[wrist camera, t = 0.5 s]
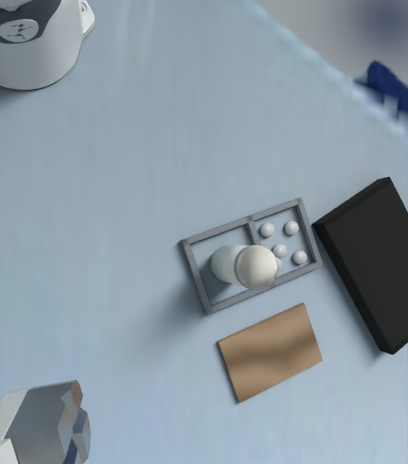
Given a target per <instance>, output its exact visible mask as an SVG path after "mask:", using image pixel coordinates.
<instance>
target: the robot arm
mask: <svg viewBox="0 0 408 464" xmlns="http://www.w3.org/2000/svg"><path fill="white" fill-rule="evenodd" d="M82 10H83V12H82ZM94 25H95V18H94V14H93V12H92V10H91V9H90V7H89V5H88V3H87V2H86V0H0V86H3V87H6V88H11V89H19V90H30V89H37V88H42V87H45V86H48V85H50V84H52V83H54V82H56V81H58V80H59V79H60V78H62V77H63V76H64V75H65V74H66V73H67V72H68V71H69V70H70V69H71V67H72V66H73V64H74V62H75V61H76V58H77V56H78V53H79V49H80V46H81V43H82V41H83V39H84V38H85V37H86V36H87V35H88V34H89V33H90V32H91V30H92V29H93V28H94ZM82 397H83V395H82V391H81V388H80V384H79V383H78V382H77V380H72V381H66V382H61V383H55V384H49V385H43V386H38V387H32V388H25V389H21V390H16V391H11V392H8V393H6V394H5V395H4V397H3V398H2V400H1V402H0V464H83V463H84V462H85V461H86V460H87V459H88V457H89V451H90V439H91V432H90V424H89V419H88V415H87V412H86V411H84V410H83V409H82V408H80V405H81V401H82Z"/></svg>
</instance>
